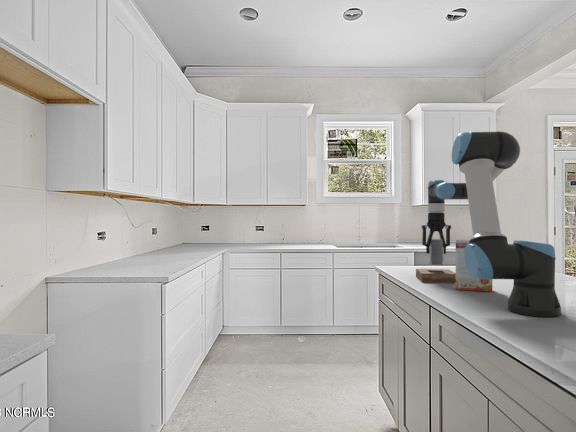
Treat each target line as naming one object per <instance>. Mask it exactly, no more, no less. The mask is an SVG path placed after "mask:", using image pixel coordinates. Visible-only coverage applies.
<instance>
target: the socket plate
mask: <svg viewBox="0 0 576 432" xmlns="http://www.w3.org/2000/svg"><path fill="white" fill-rule="evenodd" d="M415 277H416V278H417V279H418V280H419V281H420V282H421V283H438V284H439V283H442V284H443V283H445V284H446V283H447V284H456V271H453V270H450V268H449V269H448V268H447V269H444V268H443V269H442V268H415Z"/></svg>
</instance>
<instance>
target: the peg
mask: <svg viewBox="0 0 576 432" xmlns="http://www.w3.org/2000/svg"><path fill="white" fill-rule="evenodd" d="M430 247H431V261H429V264H430V265H432V266H433V265H435V266H441V265H442V266H443V264H444V263H443V240H442V239H440V238H432V239H431V243H430Z"/></svg>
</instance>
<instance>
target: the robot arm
mask: <svg viewBox="0 0 576 432" xmlns="http://www.w3.org/2000/svg"><path fill="white" fill-rule="evenodd" d="M520 154H521V146H520V143H519V141H518V140H517V138H515V136H513V135H512V134H511V133H509V132H505V131H463V132H460V133H458V134H457V136H456V137H455V139H454V142H453V145H452V149H451V162H452V164H454V165H456V166H457V165H458V169H459V171H460V172H461V173H463V174H464V178H465V182H448V181H447V182H446V181H444V179H433V180H429V181H428V185H427V211H428V213H427V222H426V224H422V225H420V226H421V229H422V235H421V236H422V244H421V245H422V246H425V248H426V252H425V253H426V254H428V260H427V261H429V262H430V261H431V247H430V243H431V239H433V235H434V234H435V233H434V232H438V235H439V239H442V240H443V261H444V258H445V256H444V255H445V254H446V253H447V247H448V246H449V247H450V246H451V229H452V226H451V225H449V224H446V221H445V217H446V216H445V215H446V214H445V213H444V212H445V209H446V208H445V207H446V206H445V200H467V201H468V208H469V215H470V222H471V230H472V236H471V238H469V239H468V240H469V244H468V245H467V246H466V247H465V250H464V253H465V254H464V259H465V264H466V267H467V269H468V271H469V273H470V274H471V275H472V276H473V277H475V278H477V279H486V280H490V279H492V280H513V286H512V289H511V293H510V295H509V298H508V300H507V310H508V311H509V312H513V313H515V314H520V315H526V316H531V317H543V318H548V317H549V318H550V317H551V318H552V317H559V316H561V315H562V306H561V304H560V301H559V298H558V295H557V292H556V285H555V284H556V283H555V281H556V259H557V258H556V252H555V250H556V249H555V247H554V246H553V245H552V244H549V243H542V242H536V241H535V242H534V241H528V240H520V239H515V240H513V243H511V244H510V243H509V242H508V237H507V236H506V235H505V234H503V233H502V231H501V227H500V226H501V225H500V219H499V212H498V205H497V202H496V201H497V200H496V194H495V193H496V192H495V188H494V181H495V179H497V178H498V176H500V175H502V173H503V171H505V170H508V169H510V168H511V167H512V166H513V165H514V164H516V162H517V161H518V159H519V157H520ZM427 228H428V229H429V234H428V238H427ZM444 228H445V229H446V230H445V237H444V232H443V229H444Z"/></svg>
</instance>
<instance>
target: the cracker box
mask: <svg viewBox="0 0 576 432" xmlns="http://www.w3.org/2000/svg"><path fill="white" fill-rule="evenodd" d="M469 240H470V239H456V240H455V273H456V283H455V289H456V291H457V290H458V291H473V292H477V291H478V292H486V293H487V292H488V293H493V279H490V280H486V279H477V278H475V277H473V276H472V275H471V274H470V273H469V271H468V269H467V267H466V264H465V259H464V254H465V253H464V250H465V247H466V246H467V245H468V244H469Z"/></svg>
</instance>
